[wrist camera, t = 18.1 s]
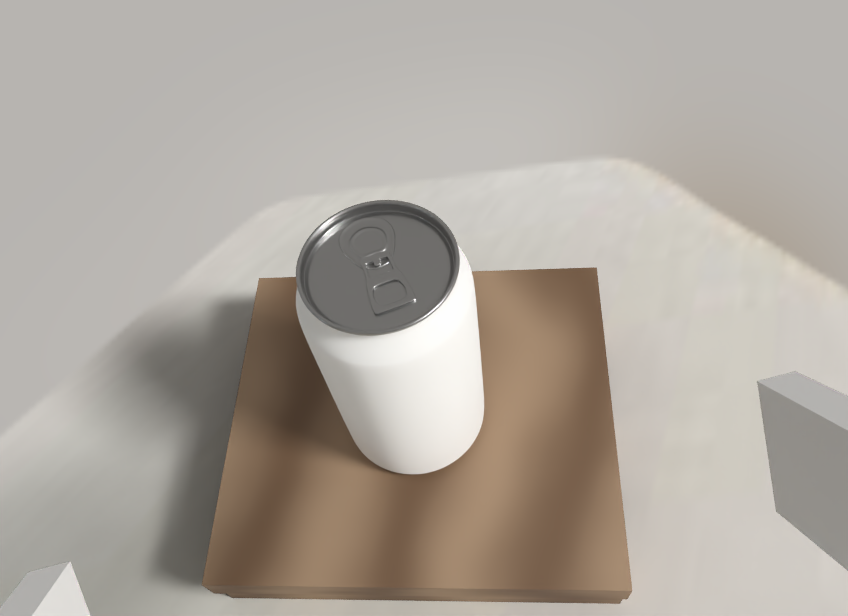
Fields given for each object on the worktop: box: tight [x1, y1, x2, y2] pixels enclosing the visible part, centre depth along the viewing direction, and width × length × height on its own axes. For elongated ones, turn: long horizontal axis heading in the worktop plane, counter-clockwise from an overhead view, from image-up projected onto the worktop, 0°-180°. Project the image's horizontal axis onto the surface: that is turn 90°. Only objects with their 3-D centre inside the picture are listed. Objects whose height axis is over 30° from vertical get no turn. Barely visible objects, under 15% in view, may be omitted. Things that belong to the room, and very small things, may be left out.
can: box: [296, 200, 484, 474], centre depth 30 cm, size 6×6×12 cm
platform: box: [202, 268, 632, 604], centre depth 37 cm, size 18×16×4 cm
